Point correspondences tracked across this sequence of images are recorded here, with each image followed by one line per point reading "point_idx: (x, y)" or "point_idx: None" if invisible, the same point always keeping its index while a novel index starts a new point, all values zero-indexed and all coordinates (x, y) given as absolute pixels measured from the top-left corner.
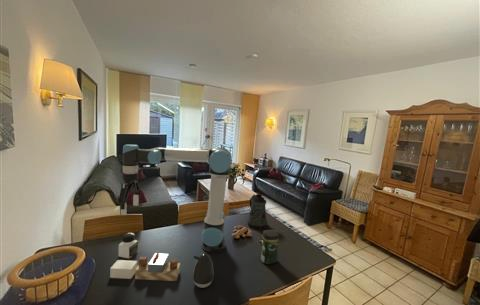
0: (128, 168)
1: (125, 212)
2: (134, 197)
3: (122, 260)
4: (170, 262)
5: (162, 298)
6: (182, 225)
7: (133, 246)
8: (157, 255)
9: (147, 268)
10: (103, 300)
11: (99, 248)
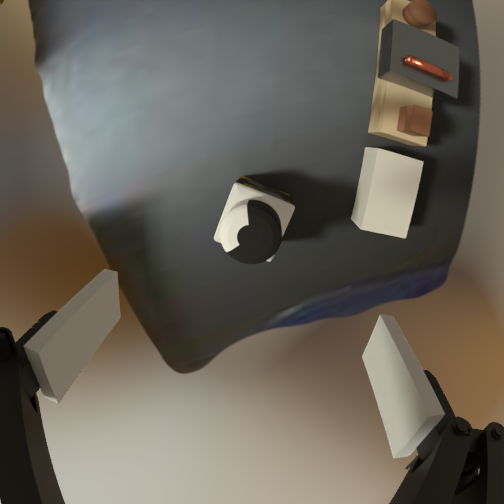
0: None
1: (401, 334)
2: (72, 367)
3: (367, 209)
4: (431, 21)
5: (475, 67)
6: (44, 62)
7: (268, 193)
8: (423, 60)
9: (424, 103)
10: (466, 213)
11: (213, 323)
